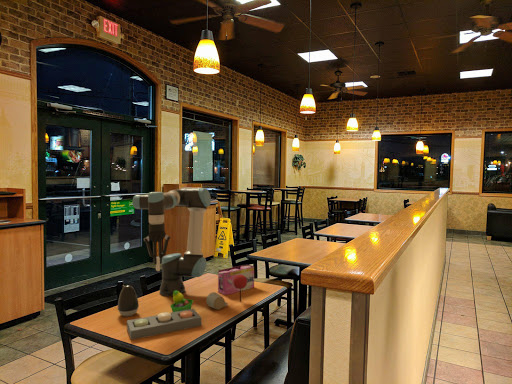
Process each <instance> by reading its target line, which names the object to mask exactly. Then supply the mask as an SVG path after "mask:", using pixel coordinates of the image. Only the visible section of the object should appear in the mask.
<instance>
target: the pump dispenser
mask: <svg viewBox="0 0 512 384" xmlns="http://www.w3.org/2000/svg"><path fill="white" fill-rule="evenodd" d="M138 299H139V298H138V295H137V293H136V290H135V289H134V287H133V286H132V285H125V284H124V285H122V289H121V291H120V294H119V298H118V302H117V311H118V312H119V314H120V315H121V316H122V317H131V316H134V315H135V314H136V313H137V312H138V309H139V300H138Z"/></svg>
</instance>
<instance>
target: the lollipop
mask: <svg viewBox="0 0 512 384" xmlns="http://www.w3.org/2000/svg"><path fill="white" fill-rule="evenodd" d="M233 283H234V286H235V287H236V288H238V289H240V291H239V302H242V299H241V298H242V295H241V294H242V291H241V289H243V288H244V287H246V285H247V279H246V277H245V276H244V275H237V276H236V277H235V278H234V281H233Z"/></svg>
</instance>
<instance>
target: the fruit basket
mask: <svg viewBox="0 0 512 384" xmlns="http://www.w3.org/2000/svg"><path fill="white" fill-rule="evenodd" d="M172 300H173V303H172V304H171V305H170V308H171V311H172V312H177V311H183V310H188V309H192V306H193V303H194V300H193V299H189V298H187V299H186V298H185V297H184V294H183V293H182V294H181V293H180V292H179V291H174V293H173V296H172ZM172 312H171V313H172Z"/></svg>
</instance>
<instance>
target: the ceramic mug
mask: <svg viewBox="0 0 512 384" xmlns="http://www.w3.org/2000/svg"><path fill="white" fill-rule="evenodd" d="M205 300H206V301H205V302H206V305H207V306H208V307H210V308H212V309H214V310H222V309H223V308H224V307H227V306H228V305H229V304H228V302H226V301H225V299H224V297H223V295H220V294H218V293H217V292H215V291H213V292H209V294H208V295H207V296H206V299H205Z"/></svg>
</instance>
